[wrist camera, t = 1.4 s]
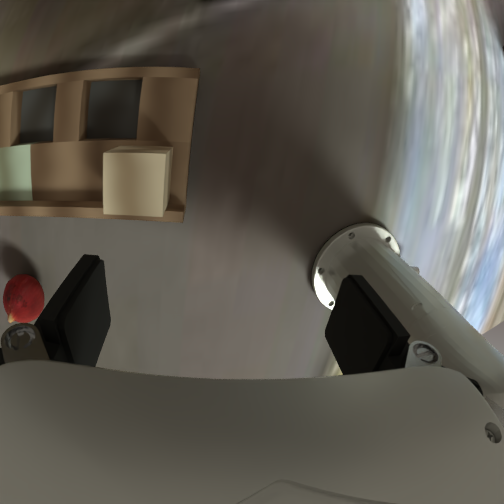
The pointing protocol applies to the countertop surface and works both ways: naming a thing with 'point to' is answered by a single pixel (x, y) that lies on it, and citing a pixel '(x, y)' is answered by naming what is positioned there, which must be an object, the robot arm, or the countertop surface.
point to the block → (137, 180)
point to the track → (91, 136)
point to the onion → (23, 298)
